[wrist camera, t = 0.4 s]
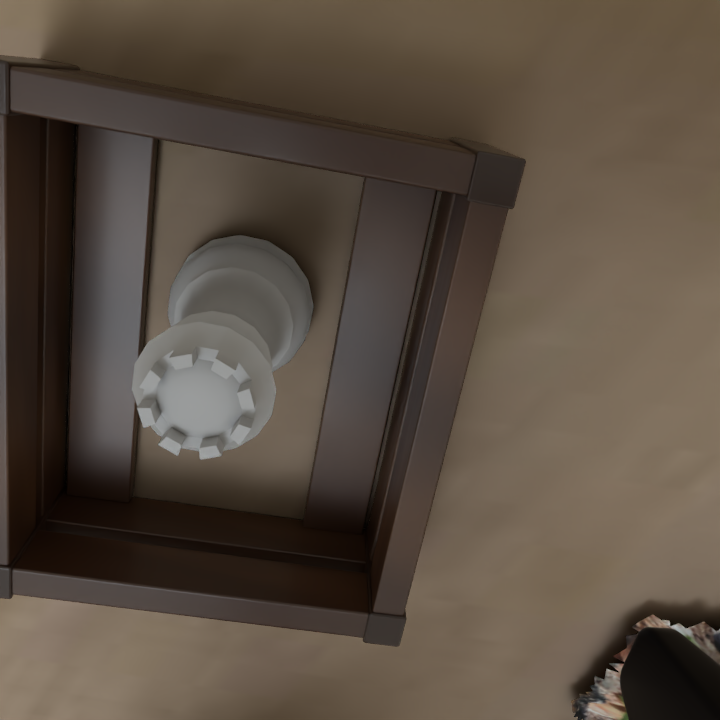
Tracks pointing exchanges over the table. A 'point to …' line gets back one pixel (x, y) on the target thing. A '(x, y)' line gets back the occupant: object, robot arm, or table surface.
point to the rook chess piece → (222, 345)
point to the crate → (126, 339)
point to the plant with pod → (606, 701)
